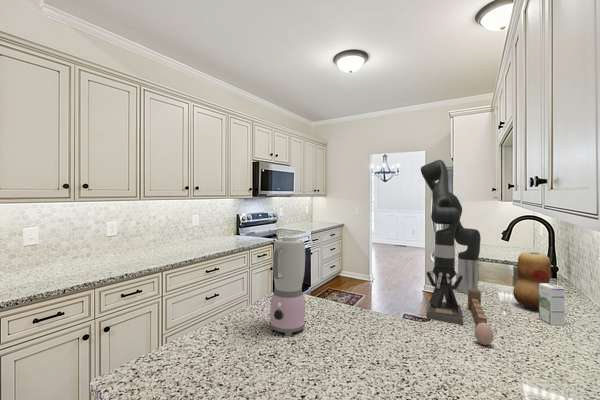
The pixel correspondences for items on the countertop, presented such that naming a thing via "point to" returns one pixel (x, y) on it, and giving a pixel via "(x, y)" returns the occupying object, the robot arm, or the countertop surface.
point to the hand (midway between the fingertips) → (443, 297)
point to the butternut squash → (531, 278)
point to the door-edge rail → (476, 306)
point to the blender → (288, 286)
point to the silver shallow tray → (445, 314)
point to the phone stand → (439, 295)
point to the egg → (483, 333)
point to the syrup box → (552, 304)
